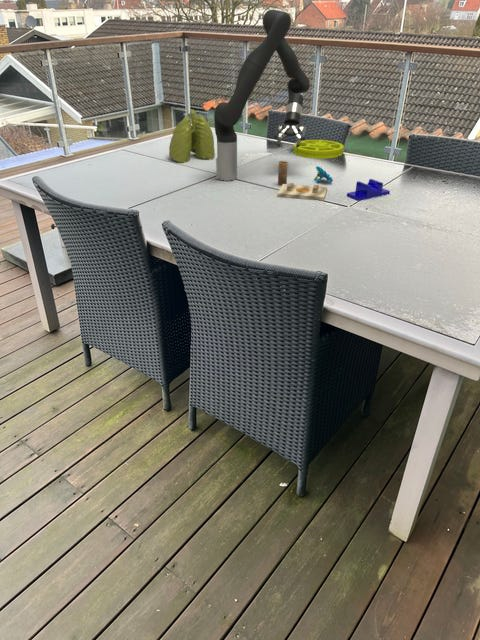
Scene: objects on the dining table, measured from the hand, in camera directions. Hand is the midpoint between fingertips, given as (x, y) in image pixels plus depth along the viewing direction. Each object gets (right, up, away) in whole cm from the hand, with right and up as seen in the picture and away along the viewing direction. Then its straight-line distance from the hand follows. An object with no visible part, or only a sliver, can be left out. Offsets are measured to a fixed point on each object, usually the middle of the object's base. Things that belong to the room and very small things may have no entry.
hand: (287, 146), depth 227 cm
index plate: (+5, -25, -13) cm, 29 cm away
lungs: (-48, +7, +39) cm, 62 cm away
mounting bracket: (+33, -27, -14) cm, 45 cm away
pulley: (+22, +14, +50) cm, 56 cm away
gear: (+17, -16, +2) cm, 23 cm away
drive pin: (-3, -18, -2) cm, 18 cm away
